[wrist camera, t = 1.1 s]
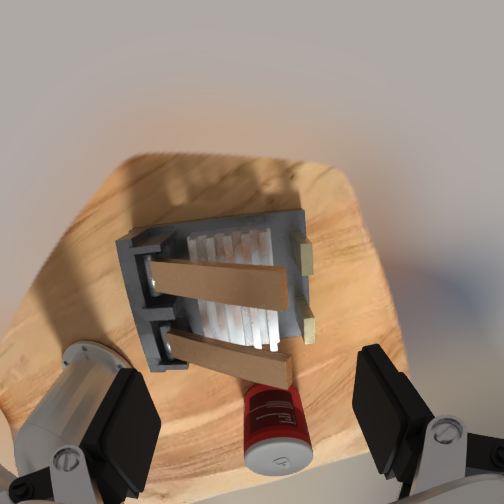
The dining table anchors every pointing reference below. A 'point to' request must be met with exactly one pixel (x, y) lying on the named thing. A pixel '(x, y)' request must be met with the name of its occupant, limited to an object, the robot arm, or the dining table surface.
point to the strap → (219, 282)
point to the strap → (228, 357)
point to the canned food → (275, 431)
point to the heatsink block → (227, 251)
